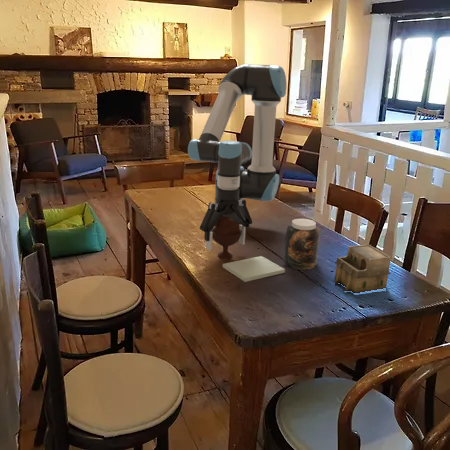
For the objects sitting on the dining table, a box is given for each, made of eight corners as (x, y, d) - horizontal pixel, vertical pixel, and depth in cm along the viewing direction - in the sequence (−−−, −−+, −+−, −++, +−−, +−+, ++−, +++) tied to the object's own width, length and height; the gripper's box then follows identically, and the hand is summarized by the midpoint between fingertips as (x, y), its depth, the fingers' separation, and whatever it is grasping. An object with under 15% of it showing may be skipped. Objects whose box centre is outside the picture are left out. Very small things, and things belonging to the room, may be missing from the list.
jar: (276, 258, 175) (280, 218, 170) (305, 255, 179) (309, 215, 174) (294, 271, 164) (298, 229, 160) (323, 267, 169) (328, 226, 164)
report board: (261, 259, 174) (261, 255, 173) (284, 272, 163) (284, 269, 163) (222, 267, 165) (222, 263, 165) (244, 281, 155) (245, 278, 155)
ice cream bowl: (218, 264, 168) (220, 222, 163) (204, 252, 177) (206, 212, 172) (246, 259, 173) (248, 218, 168) (230, 248, 182) (232, 209, 177)
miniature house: (364, 273, 166) (369, 241, 162) (391, 291, 153) (397, 257, 150) (325, 278, 161) (329, 245, 157) (349, 297, 148) (354, 261, 145)
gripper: (201, 193, 158) (199, 255, 164) (264, 186, 171) (260, 244, 177) (190, 188, 164) (189, 248, 170) (252, 181, 177) (248, 237, 183)
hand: (225, 246), depth 174 cm, fingers open, 13 cm apart
